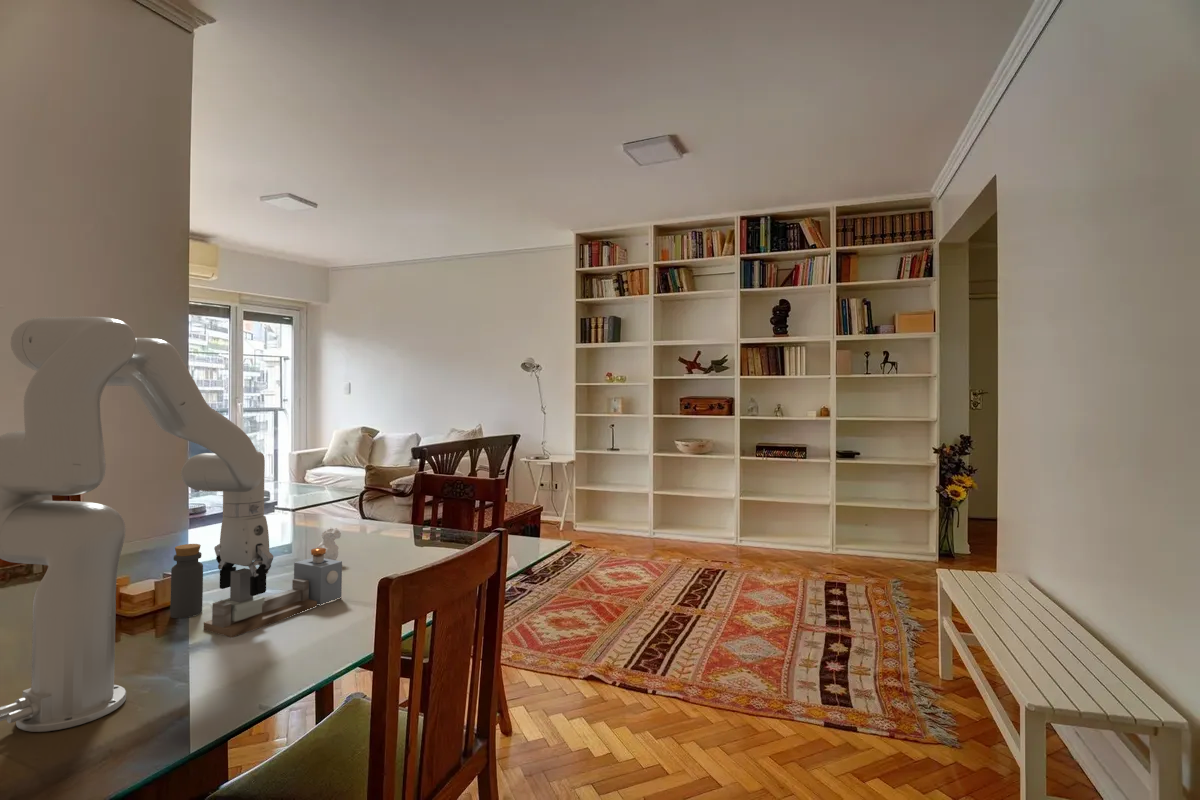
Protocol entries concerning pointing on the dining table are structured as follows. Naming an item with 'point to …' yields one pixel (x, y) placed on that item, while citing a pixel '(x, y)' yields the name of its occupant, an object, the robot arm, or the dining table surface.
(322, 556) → the gauge plunger
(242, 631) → the rail plinth
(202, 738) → the dining table surface
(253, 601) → the carriage
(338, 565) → the end cabinet
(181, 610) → the bottle
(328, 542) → the duck figurine
